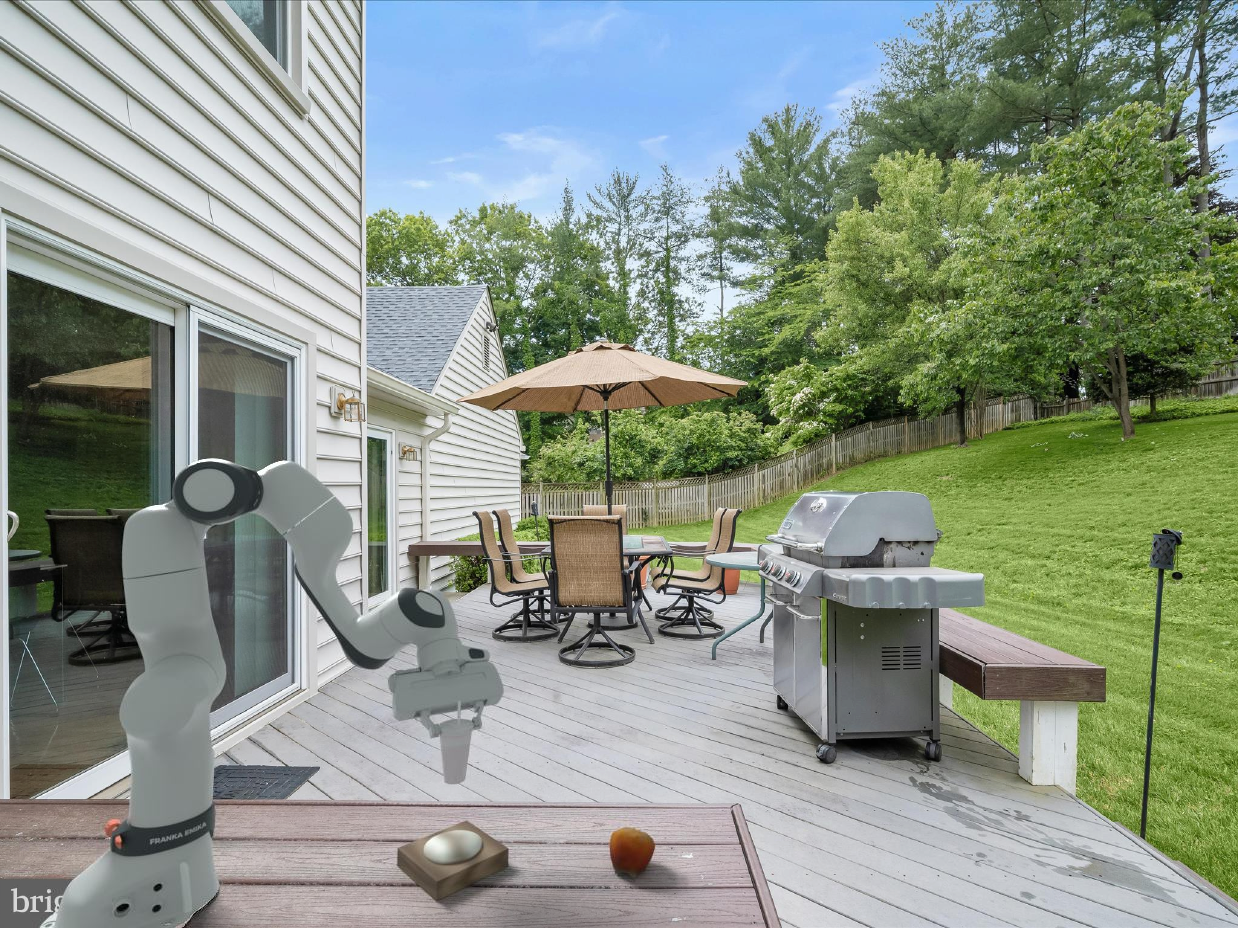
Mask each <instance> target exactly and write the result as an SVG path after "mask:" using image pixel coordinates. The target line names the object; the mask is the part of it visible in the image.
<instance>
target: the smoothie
mask: <svg viewBox="0 0 1238 928" xmlns="http://www.w3.org/2000/svg"><path fill="white" fill-rule="evenodd" d="M461 711H462V710H461V700H458V711H457V713H456V714H457V717H456V718H454V719H449V720H445V721H442V722H441V723H438V724H439V729H440V735H439V742H440V743H439V744H440V751H441V753H440V754H441V763H442V773H443V782H444V783H445V784H447V785H457V784H461V783H463V782H464V781H466V776H467V769H468V762H469V756H470V747H471V740H472V733H473V731H475V730H474V723H473V722H472V721H471V720H472V719H467V718H461V714H462V712H461Z"/></svg>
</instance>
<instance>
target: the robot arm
mask: <svg viewBox="0 0 1238 928" xmlns="http://www.w3.org/2000/svg"><path fill="white" fill-rule="evenodd" d="M171 495H172V499H171V500H170V501H169V502H166V503H164V504H159V505H152V506H147V507H145V508H142V509H140V510H138V511H136V512H133V514H132V515H130V516H129V518H128V519H127V521H126V523H125V525H124V529H123V537H122V547H121V548H122V551H121V555H122V556H121V558H122V559H121V560H122V561H121V567H122V578H123V587H124V589H123V590H124V598H125V608H126V616H127V625H128V629H129V631H130V632H131V633H132V634H133V635H134V637H135V639H136V642H137V644H138V647H139V649H140V652H141V656H142V658H143V662H144V672H143V673H141V674H140V675H139V676H138V677H136V678H135V679H134V680H133V681H132V682H131V684H130V685H129V687H128V689H127V690H126V692H125V694H124V697H123V699H122V701H121V704H120V707H119V711H118V712H119V717H118V718H119V722H120V724H121V726H122V728H123V729H124V731H125V736H126V744H127V747H128V755H129V761H130V792H129V809H128V817H127V818H126V819H125V820H124V821H123V822H121V821H120V820H119V819H117V818H115V819H114V818H113V819H111V820H109V821H108V822H107V823H106V824H105V825H104V829H103V830H104V832H105V835H106V836H107V837H110V841H109V842H110V845H109V846H110V848H109V849H108V850H107V851H105V852H104V854H102V855H101V856H100V857H98V859H96V860H95V861H94V862H92V864H91V865H89V866H88V867H87V868H85V869H84V870H83V871H82V872H80V874H78V875H77V876H75V878H73V879H72V880H71V881H70V883H69V884H68V886H67V887H66V888H65V890H64V892H63V895H62V897H61V901H60V904H59V906H58V910H57V912H55V913H54V914H51V915H50V916H48V917H47V918H46V919H45V920H44V921H43V923H41V925H40V926H39V928H175V927H176V926H178V925H180V924H182V923H184V922H185V921H187V919H188V918H190V916H191V915H192V914H193V913H194V912H195V911H196V910H198V909H199V908H200V907H202V906H203V905H204V904H206V902H208V901H209V900H210V899H212V898H213V896H215V895H216V893H217V892H218V893H219V891H220V888H219V887H221V886H220V882H219V879H218V876H217V873H216V872H217V871H216V866H215V861H214V860H215V859H214V853H213V838H214V835H215V834H214V833H215V830H216V815H217V813H216V812H217V808H216V801H214V799H213V798H214V797H213V795H214V776H215V761H216V760H215V756H216V754H215V750H214V748H213V743H212V736H211V735H212V733H211V722H210V721H211V719H210V716H211V708H212V706H213V702H214V701H215V700H216V698H217V697H218V696H219V695H220V694H221V692H222V691H223V688H224V686H225V683H226V681H227V664H226V661H225V659H224V655H223V652H222V647H221V643H220V639H219V635H218V632H217V628H216V625H215V622H214V618H213V614H212V609H211V601H210V593H209V584H208V575H207V567H206V565H207V564H206V559H205V558H206V557H205V550H204V549H205V547H204V543H205V542H204V541H205V536H206V534H207V532H208V531H209V530H211V529H213V528H216V527H219V526H221V525H224V524H229V523H231V522H234V521H235V520H238V519H239V518H240V517H241V516H243V515H247V514H254V515H258V516H260V517H262V518H263V519H265V520H266V521H267V522H268V523H270V524H271V526H272V527H273V528H274V529H276V530H277V532H278V533H279V534H280V535H281V536H282V537H283V539H285V541H287V543H288V545H289V546H290V548H291V551H292V553H293V555H294V556H293V557H294V558H295V562H294V566H293V570H294V574H295V577H296V579H297V581H298V583H299V585H300V586H301V587H302V588H303V590H304V592H305V594H306V595H307V596H308V598H309V600H310V601H311V602H312V604H313V605H314V606H315V607H314V608H316V610H317V611H318V612H319V614H320V616H321V617H322V618H323V620H324V621H325V623H326V625H328V627H329V628H330V630H331V631H332V633H333V634H334V635H335V637H336V639H337V641H338V643H339V645H340V647H341V649H342V651H343V654H344V656H345V658H346V659H347V660H348V661H349V662H350V663H351V664H352V665H353V666H356V667H357V668H360V669H364V670H372V671H373V670H374V671H375V670H378V669H380V668H382V667H383V666H384V665H386V664H387V663H388V662H389V661H390V660H391V659H393V658H394V657H395V656H396V655H397V654H398V653H399V652H401V651H402V650H404V649H405V648H406V647H408V646H410V645H411V644H412V645H414V646H415V647H416V660H417V667H413V668H407V669H399V670H396V671H395V672H393V673H391V675H390V676H389V677H388V679H387V683H388V684H387V685H388V690H389V692H390V693H392V716H393V718H394V719H395V720H396V721H397V722H402V721H403V722H404V721H408V720H413V719H420V720H419V721H420V724H421V725H422V726H423V727H424V728H426V730H427V731H428V734H429V738H430V739H435V738H438V737H439V738H440V729H439V724H440V723H434V721H432V720H431V716H437V715H442V714H449V713H454V712H458V700H461V711H465V710H470V709H472V710H473V713H474V714H475V713H476V716H473V717H471V719H470V720H471V721H472V722H473V723H474V730H473V731H475V730H481V729H482V727H483V722H482V717H481V716H482V714H483V711H484V707H488V706H495V705H497V704H499V703H500V701H501V700H502V697H503V696H504V692H505V689H504V686H503V682H502V679H501V676H500V674H499V673H500V672H499V671H498V669H497V667H496V666H495V664H493V662H491V661H490V657H491V655H490V652H489V650H488V649H486V648H485V649H484V648H477V647H473V646H468V645H464V644H463V643H462V641H461V639H460V638H459V635H458V631H459V627H458V623H457V619H456V618H457V617H456V615H455V612H454V609H453V606H452V605H451V602H450V600H449V598H448V597H447V595H446V593H444V592H443V591H441V590H440V589H436V588H426V589H419V588H415V587H403V588H401V589H400V590H398V591H397V592H396V591H395V593H393V594H392V595H391V596H390V597H389V596H388V598H387V599H385V600H384V601H382V602H381V603H380V604H379V605H378V606H376V607H374V608H373V609H372V610H370V611H369V612H367V613H366V614H365V615H363V614H360V613H359V612H358V611H357V610H356V608H355V606H353V603H351V600H349V598H348V596H347V594H346V593H345V592H344V591H343V589H342V588H341V586H340V585H339V583H338V580H337V576H336V574H337V568H338V566H339V563H340V561H341V559H342V557H343V556H344V554H345V553H346V551H347V549H348V547H349V545H350V543H351V541H352V537H353V534H354V522H353V518H352V516H351V514H350V512H349V511H348V509H347V508H346V507H345V505H344V504H343V503H342V502H341V501H340V500H339V499H338V498H337V497H336V496H335V494H334V493H332V491H331V490H330V489H329V488H328V487H327V486H326V485H325V484H324V483H323V482H321V481H320V480H319V479H318V478H317V477H316V476H315V475H313V474H312V473H311V472H310V471H308V470H307V469H306V468H304V467H303V466H302V465H300V464H299V463H297V462H295V461H291V460H282V461H277V462H274V463H271V464H270V465H268V466H266V467H265V468H263V469H261V470H259V471H257V470H255V469H253V468H250V467H246V466H243V465H240V464H237V463H234V462H232V461H229V460H225V459H220V458H206V459H199V460H196V461H194V462H191V463H190V464H189V465H187V466H185V467H184V468H183V469H182V470H180V471H179V473H178V474H177V476H176V477H175V479H174V482H173V484H172V489H171ZM218 890H219V891H218ZM218 893H217V894H218ZM216 896H217V895H216ZM216 896H215V897H216ZM167 923H171V924H170V925H167V926H165V924H167Z"/></svg>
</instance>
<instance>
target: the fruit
mask: <svg viewBox="0 0 1238 928" xmlns="http://www.w3.org/2000/svg"><path fill="white" fill-rule="evenodd" d="M655 849H656V844H655V841H654V839H653V837H652V836H651V835H650V834H649V833H647V831H646V832H645V831H642V830H640V829H636V828H635V827H627V826H626V827H625V826H624V827H621V828H619V829H617V830H613V832H612V833H611V836H610V837H609V854H610V855H609V856H610V860H611V864H612V868H613V870H614V875H617V874H618V873H625V874H627V875H629V876H631V877H632V878H633V881H634V882H636V876H637V875H639V874H641V873H642V874H643V872H644V871H645V870H646V869H647V868H648V866H649V864H650V863H651V861H652V858H653V855H654V852H655Z"/></svg>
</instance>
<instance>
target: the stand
mask: <svg viewBox="0 0 1238 928" xmlns="http://www.w3.org/2000/svg"><path fill="white" fill-rule="evenodd" d="M509 850H510V849H509V847H507V846H506V845H504V844H503V843H501V842H500V841H499V840H497V839H495V838H494V837H492V836H490V835H489V834H488V833H486V832H485V831H483V830H482V829H480V828H479V827H477V826H476V825H475V824H473V823H471V822H470V821H468V820H465V821H464V820H463V821H462V822H460V823H457V824H454V825H451V826H449V827H446V828H444V829H442V830H440V831H437V832H434V833H432V834H429V835H427V836H424V837H421V838H419V839H417V840H414V841H412V842H411V841H410V842H409V843H407V844H404V845H402V846H399V847H397V853H396V854H397V855H396V856H397V857H396V859H397V860H396V867H398V868H399V869H400V870H401V871H403V873H405V874H406V875H407V876H408V877H409V878H410V879H411V880H412V881H413V882H415V884H417V886H419V887H420V888H421V889H422V890H423V891H424V892H426V894H428V895H429V896H430V897H431V898H432V899H434V901H436V902H437V901H440V900H442V899H444V898H445V897H448V896H450V895H452V894H455V893H456V892H458V891H460V890H463V889H464V888H467V887H468V886H470V885H472V884H474V883H477V882H478V881H481V880H482V879H484V878H487V877H489V876H491V875H493V874H495V873H497V872H499V871H501V870H503V869H505V868H507V867H509V852H510V851H509Z"/></svg>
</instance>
